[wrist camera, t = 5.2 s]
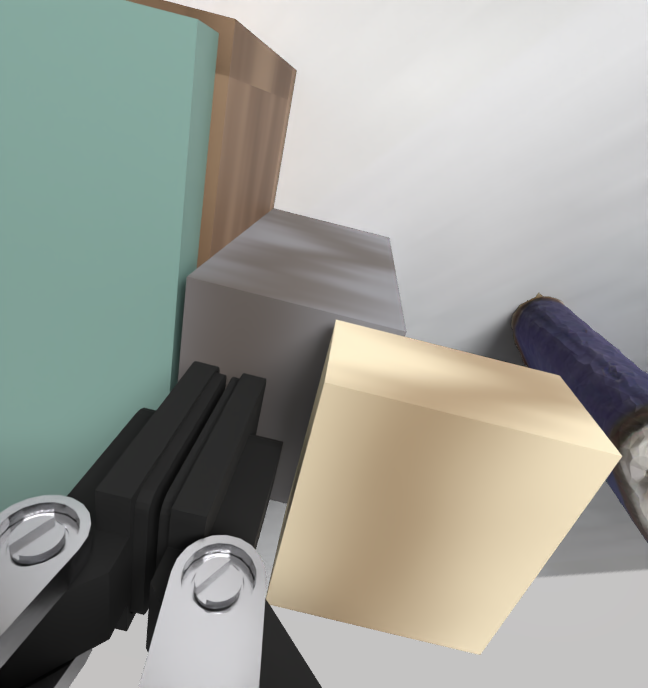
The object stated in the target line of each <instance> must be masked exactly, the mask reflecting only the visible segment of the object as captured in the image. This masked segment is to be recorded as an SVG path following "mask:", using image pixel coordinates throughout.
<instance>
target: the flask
mask: <svg viewBox="0 0 648 688" xmlns="http://www.w3.org/2000/svg"><path fill="white" fill-rule="evenodd" d="M511 328H512V330H513V338H514V341H515V345H517V348H518V350H519V352H520V354H521V356H522V361H523V363H524V364H525V365H527V367H528V368H531V369H535V370H539V371H543V372H547V373H551V374H555V375H559V376H560V377H561V378H562V379H563V381H564V382H565V383H566V384H567V386H568V387H569V388H570V390H571V391H572V392H573V393H574V395H575V396H576V397H577V399H578V400H579V401H580V402H581V404H582V405H583V406H584V408H585V409H586V410H587V411H588V413H589V414H590V415H591V417H592V418H593V419H594V420H595V422H596V423H597V424H598V426H599V427H600V428H601V429H602V431H603V432H604V433H605V435H606V436H607V437H608V438H609V440H610V441H611V442H612V444H613V445H614V446H615V447H616V449H617V450H618V451H619V453H620V454H621V455H622V457H621V459H620V460H619V462H618V463H617V464H616V466H615V467H614V469H613V470H612V471H611V473H610V474H609V476H608V477H607V478H606V482H607V483H608V485H609V486H610V487H611V489H612V490H613V492H614V493H615V495H616V496H617V498H618V499H619V501H620V502H621V504H622V505H623V507H624V508H625V509H626V511H627V512H628V514H629V516H630V517H631V519H632V521H633V522H634V524H635V525H636V526H637V528H638V529H639V531H640V532H641V534H642V535H643V537H644V538H645V540H646V541H647V543H648V374H647V373H646V372H644V371H642V370H640V369H639V368H638V367H637V366H636V365H635V364H634V363H633V362H632V361H630V360H629V359H628V358H626V357H625V356H624V355H623V354H622V353H621V352H620V350H619V349H617V348H616V347H614V346H613V345H612V344H611V343H609V342H608V341H607V340H606V339H604V338H603V337H602V336H601V335H600V334H599V333H597V332H595V331H594V330H593V329H591V328H590V327H589V326H588V325H587V324H586V323H585V322H584V321H582V320H581V319H580V318H578V317H577V316H576V315H575V314H574V313H573V312H572V311H571V310H570V309H569V308H567V307H566V306H565V305H564V303H563V302H562V301H561V300H558V299H556V298H551V297H546V296H542V295H541V294H539V293H538V294H537V296H536V297H535V298H533V299H531V300H529V301H528V300H527V302H525V303H523V304H521V305H519V307H518V309H517V310H516V311H515V312H514V313H513V315H512V322H511Z"/></svg>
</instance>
